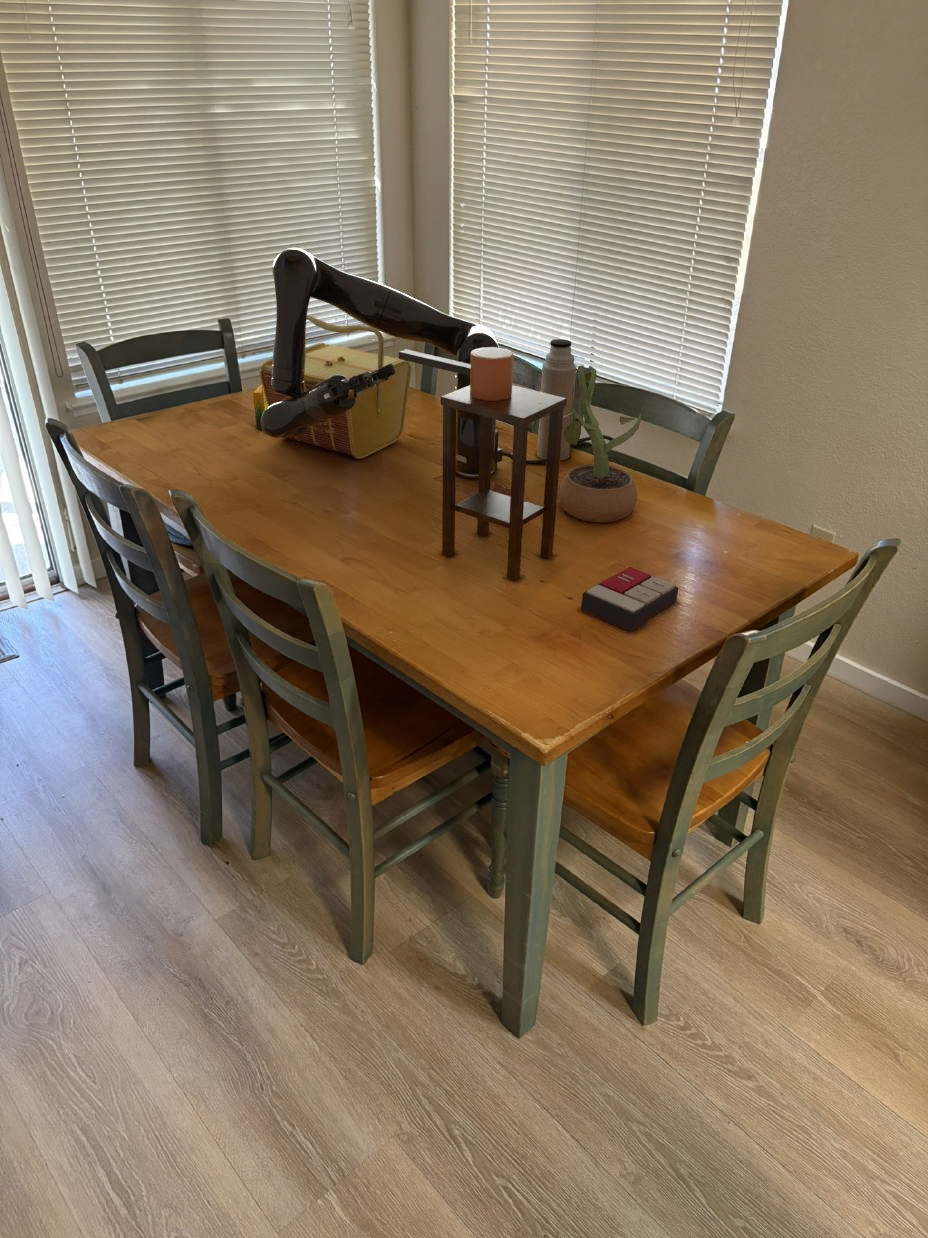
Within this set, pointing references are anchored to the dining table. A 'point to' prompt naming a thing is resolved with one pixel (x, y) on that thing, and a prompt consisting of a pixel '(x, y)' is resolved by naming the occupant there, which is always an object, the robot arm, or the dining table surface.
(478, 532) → the plant stand
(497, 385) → the dipper cup
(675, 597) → the calculator
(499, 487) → the fruit slice
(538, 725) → the dining table surface
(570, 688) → the dining table surface
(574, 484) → the potted plant
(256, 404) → the crayon box
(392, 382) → the picnic basket
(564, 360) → the thermos bottle
